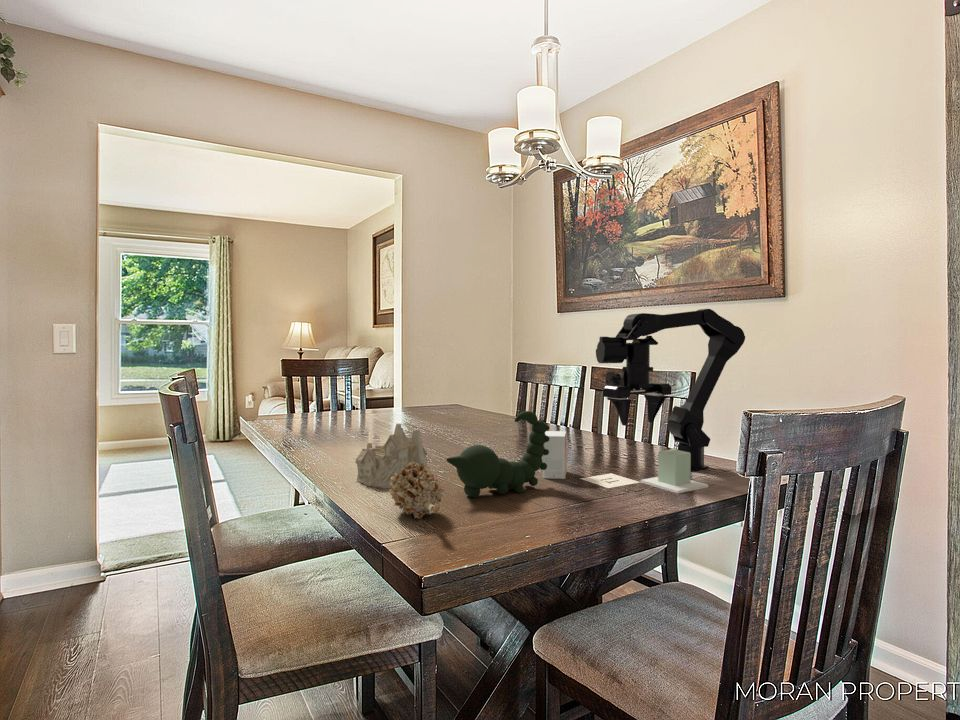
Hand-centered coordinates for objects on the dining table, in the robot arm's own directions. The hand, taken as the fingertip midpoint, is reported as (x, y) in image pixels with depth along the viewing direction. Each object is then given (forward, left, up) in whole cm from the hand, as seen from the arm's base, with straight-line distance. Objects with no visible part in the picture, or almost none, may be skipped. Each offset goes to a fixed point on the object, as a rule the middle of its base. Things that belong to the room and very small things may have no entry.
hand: (637, 423), depth 144 cm
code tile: (+13, +4, -12) cm, 18 cm away
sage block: (+3, +15, -11) cm, 19 cm away
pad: (+3, +15, -12) cm, 19 cm away
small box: (+21, -7, -12) cm, 25 cm away
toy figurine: (+41, -1, -12) cm, 43 cm away
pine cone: (+63, +7, -12) cm, 65 cm away
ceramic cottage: (+57, -24, -12) cm, 63 cm away
